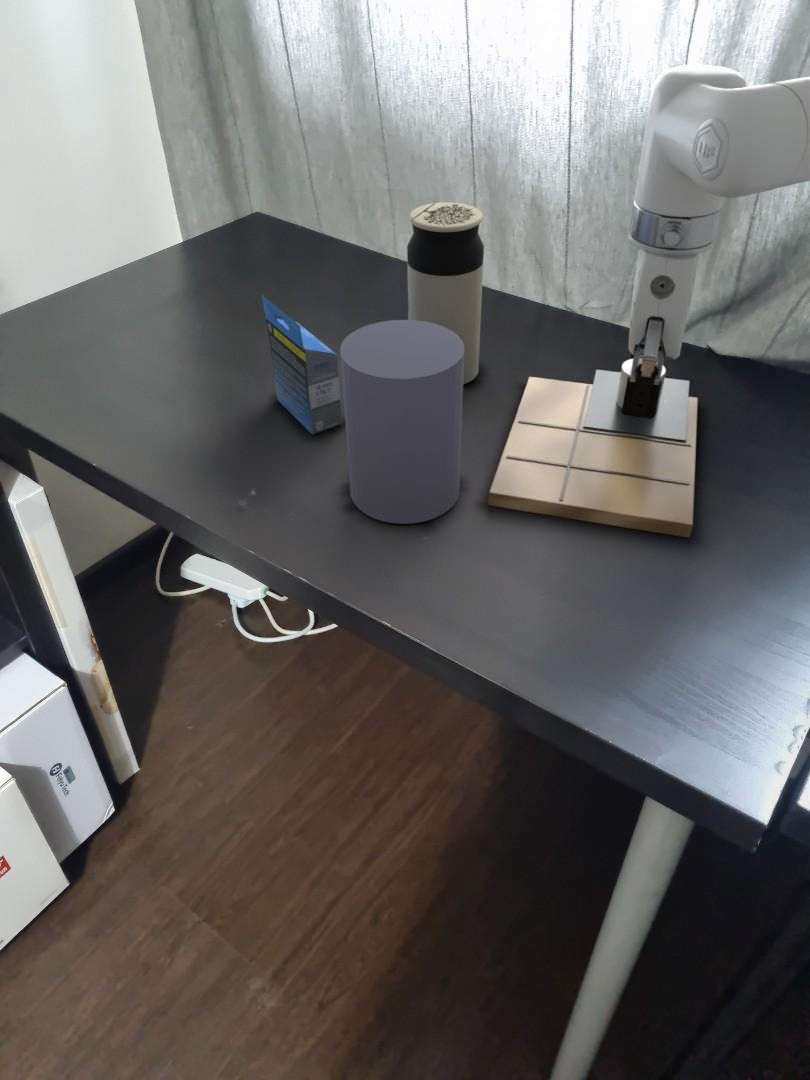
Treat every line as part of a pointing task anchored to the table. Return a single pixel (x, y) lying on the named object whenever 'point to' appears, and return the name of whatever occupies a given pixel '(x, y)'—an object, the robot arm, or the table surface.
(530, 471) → the board
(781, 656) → the table surface
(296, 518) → the table surface
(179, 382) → the table surface
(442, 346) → the container
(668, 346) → the robot arm
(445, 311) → the travel mug
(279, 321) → the blue product box
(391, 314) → the table surface
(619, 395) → the white squat cylinder
